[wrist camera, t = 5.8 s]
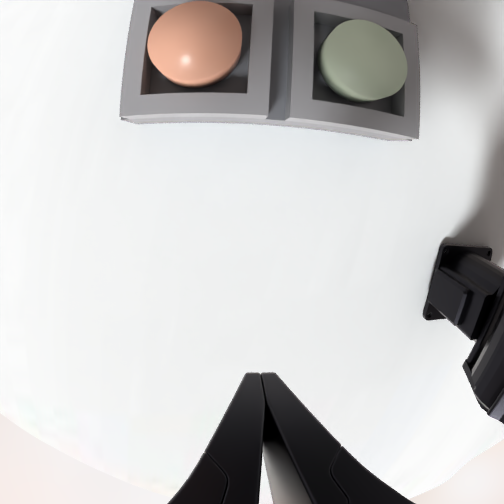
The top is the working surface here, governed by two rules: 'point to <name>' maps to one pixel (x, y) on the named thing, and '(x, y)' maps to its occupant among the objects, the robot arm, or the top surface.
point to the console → (275, 71)
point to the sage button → (362, 61)
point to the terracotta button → (196, 44)
